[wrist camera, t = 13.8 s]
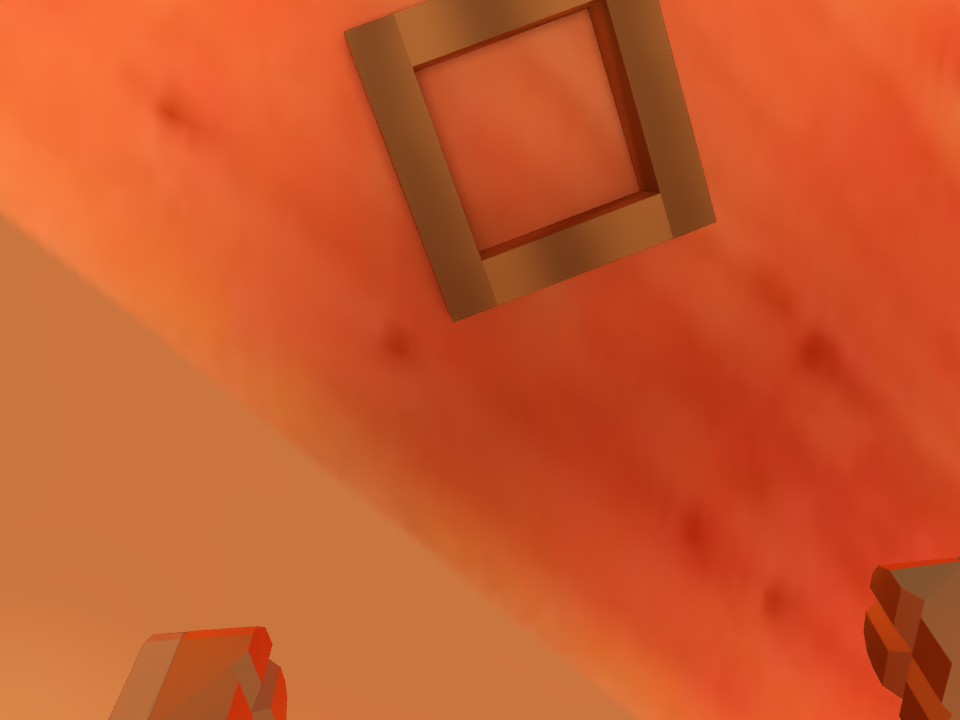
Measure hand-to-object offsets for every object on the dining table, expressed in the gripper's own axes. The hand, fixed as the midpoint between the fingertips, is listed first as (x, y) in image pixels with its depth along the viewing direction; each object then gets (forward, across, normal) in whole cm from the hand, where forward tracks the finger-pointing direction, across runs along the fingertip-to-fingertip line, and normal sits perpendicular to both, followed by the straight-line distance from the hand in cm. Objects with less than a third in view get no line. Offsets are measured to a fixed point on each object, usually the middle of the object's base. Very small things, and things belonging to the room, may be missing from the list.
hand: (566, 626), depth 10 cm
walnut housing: (+27, -1, 0) cm, 27 cm away
